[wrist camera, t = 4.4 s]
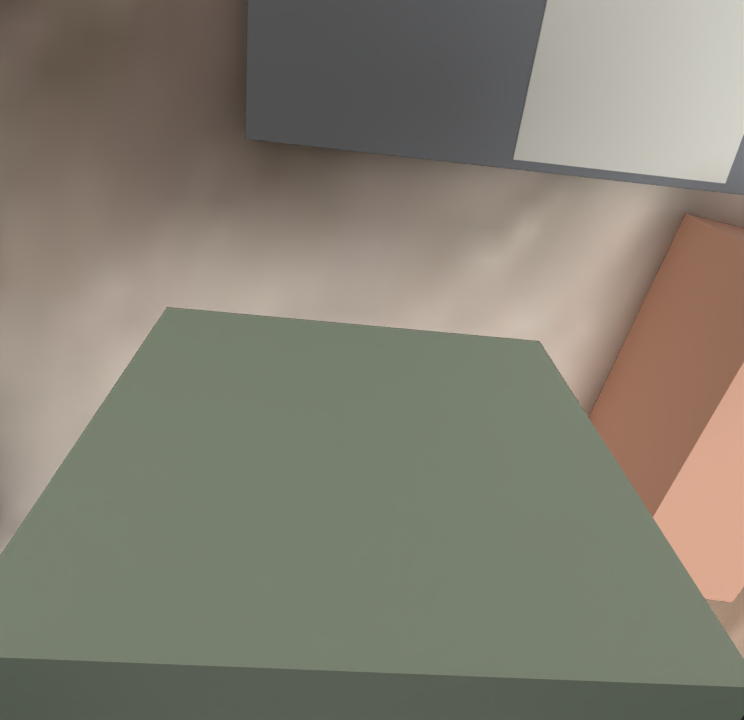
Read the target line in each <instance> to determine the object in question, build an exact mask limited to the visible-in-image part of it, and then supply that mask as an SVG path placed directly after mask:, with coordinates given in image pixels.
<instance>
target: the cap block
mask: <svg viewBox="0 0 744 720" xmlns="http://www.w3.org/2000/svg"><path fill="white" fill-rule="evenodd" d="M589 419H590V421H591V422H592V424H593V425H594V427H595V428H596V430H597V432H598V433H599V435H600V436H601V438H602V439H603V441H604V442H605V444H606V446H607V447H608V449H609V450H610V452H611V453H612V455H613V456H614V458H615V460H616V461H617V463H618V464H619V466H620V467H621V469H622V470H623V472H624V474H625V475H626V477H627V478H628V480H629V481H630V483H631V484H632V486H633V488H634V489H635V491H636V492H637V494H638V495H639V497H640V498H641V500H642V502H643V503H644V505H645V506H646V508H647V509H648V511H649V512H650V514H651V516H652V517H653V519H654V520H655V522H656V523H657V525H658V527H659V528H660V530H661V531H662V533H663V534H664V536H665V537H666V539H667V541H668V542H669V544H670V545H671V547H672V548H673V550H674V551H675V553H676V555H677V556H678V558H679V559H680V561H681V562H682V564H683V565H684V567H685V569H686V570H687V572H688V573H689V575H690V576H691V578H692V579H693V581H694V583H695V584H696V586H697V587H698V589H699V590H700V592H701V593H702V595H703V597H704V598H705V599H712V600H719V601H726V602H733V601H734V599H735V598H736V596H737V595H738V594H739V592H740V591H741V589H742V588H743V587H744V228H741V227H737V226H733V225H729V224H725V223H721V222H717V221H713V220H709V219H705V218H701V217H697V216H693V215H689V214H685V216H684V218H683V220H682V222H681V224H680V227H679V229H678V231H677V233H676V235H675V237H674V239H673V241H672V243H671V245H670V247H669V250H668V252H667V254H666V256H665V258H664V260H663V262H662V264H661V266H660V268H659V271H658V273H657V275H656V277H655V279H654V281H653V283H652V285H651V287H650V289H649V292H648V294H647V296H646V298H645V300H644V302H643V304H642V306H641V308H640V310H639V313H638V315H637V317H636V319H635V321H634V323H633V325H632V327H631V329H630V331H629V334H628V336H627V338H626V340H625V342H624V344H623V346H622V348H621V350H620V352H619V355H618V357H617V359H616V361H615V363H614V365H613V367H612V369H611V371H610V373H609V376H608V378H607V380H606V382H605V384H604V386H603V388H602V390H601V392H600V394H599V397H598V399H597V401H596V403H595V405H594V407H593V409H592V411H591V413H590V415H589Z"/></svg>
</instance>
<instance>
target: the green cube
mask: <svg viewBox="0 0 744 720" xmlns="http://www.w3.org/2000/svg"><path fill="white" fill-rule="evenodd" d="M743 716H744V659H743V657H742V656H741V654H740V653H739V651H738V650H737V648H736V646H735V645H734V643H733V642H732V640H731V639H730V637H729V635H728V634H727V632H726V631H725V629H724V628H723V626H722V625H721V623H720V621H719V620H718V618H717V617H716V615H715V614H714V612H713V611H712V609H711V607H710V606H709V604H708V603H707V601H706V600H705V598H704V597H703V595H702V593H701V592H700V590H699V589H698V587H697V586H696V584H695V583H694V581H693V579H692V578H691V576H690V575H689V573H688V572H687V570H686V569H685V567H684V565H683V564H682V562H681V561H680V559H679V558H678V556H677V555H676V553H675V551H674V550H673V548H672V547H671V545H670V544H669V542H668V541H667V539H666V537H665V536H664V534H663V533H662V531H661V530H660V528H659V527H658V525H657V523H656V522H655V520H654V519H653V517H652V516H651V514H650V512H649V511H648V509H647V508H646V506H645V505H644V503H643V502H642V500H641V498H640V497H639V495H638V494H637V492H636V491H635V489H634V488H633V486H632V484H631V483H630V481H629V480H628V478H627V477H626V475H625V474H624V472H623V470H622V469H621V467H620V466H619V464H618V463H617V461H616V460H615V458H614V456H613V455H612V453H611V452H610V450H609V449H608V447H607V446H606V444H605V442H604V441H603V439H602V438H601V436H600V435H599V433H598V432H597V430H596V428H595V427H594V425H593V424H592V422H591V421H590V419H589V418H588V416H587V414H586V413H585V411H584V410H583V408H582V407H581V405H580V404H579V402H578V400H577V399H576V397H575V396H574V394H573V393H572V391H571V389H570V388H569V386H568V385H567V383H566V382H565V380H564V379H563V377H562V375H561V374H560V372H559V371H558V369H557V368H556V366H555V365H554V363H553V361H552V360H551V358H550V357H549V355H548V354H547V352H546V351H545V349H544V347H543V346H542V344H541V343H540V341H532V340H521V339H510V338H500V337H489V336H478V335H467V334H456V333H445V332H434V331H423V330H412V329H401V328H390V327H379V326H368V325H357V324H347V323H336V322H325V321H314V320H303V319H292V318H281V317H270V316H259V315H248V314H237V313H226V312H215V311H204V310H194V309H183V308H172V307H167V308H166V309H165V311H164V312H163V314H162V315H161V317H160V318H159V320H158V321H157V323H156V324H155V326H154V327H153V329H152V330H151V332H150V333H149V335H148V336H147V338H146V339H145V341H144V342H143V344H142V345H141V347H140V348H139V350H138V351H137V352H136V354H135V355H134V357H133V358H132V360H131V361H130V363H129V364H128V366H127V367H126V369H125V370H124V372H123V373H122V375H121V376H120V378H119V379H118V381H117V382H116V384H115V385H114V387H113V388H112V390H111V391H110V393H109V394H108V396H107V397H106V399H105V400H104V402H103V403H102V405H101V406H100V408H99V409H98V411H97V412H96V414H95V415H94V417H93V418H92V420H91V421H90V423H89V424H88V426H87V427H86V429H85V430H84V432H83V433H82V435H81V436H80V438H79V439H78V441H77V442H76V444H75V445H74V446H73V448H72V449H71V451H70V452H69V454H68V455H67V457H66V458H65V460H64V461H63V463H62V464H61V466H60V467H59V469H58V470H57V472H56V473H55V475H54V476H53V478H52V479H51V481H50V482H49V484H48V485H47V487H46V488H45V490H44V491H43V493H42V494H41V496H40V497H39V499H38V500H37V502H36V503H35V505H34V506H33V508H32V509H31V511H30V512H29V514H28V515H27V517H26V518H25V520H24V521H23V523H22V524H21V526H20V527H19V529H18V530H17V532H16V533H15V535H14V536H13V538H12V539H11V540H10V542H9V543H8V545H7V546H6V548H5V549H4V551H3V552H2V554H1V555H0V720H741V719H742V717H743Z"/></svg>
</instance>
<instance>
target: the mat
mask: <svg viewBox="0 0 744 720" xmlns="http://www.w3.org/2000/svg"><path fill="white" fill-rule="evenodd" d="M245 139H250V140H259V141H268V142H276V143H285V144H294V145H303V146H312V147H321V148H330V149H339V150H348V151H357V152H366V153H374V154H383V155H392V156H401V157H410V158H419V159H428V160H437V161H446V162H455V163H464V164H472V165H481V166H490V167H499V168H508V169H517V170H526V171H535V172H544V173H553V174H562V175H570V176H579V177H588V178H597V179H606V180H615V181H624V182H633V183H642V184H651V185H660V186H668V187H677V188H686V189H695V190H704V191H713V192H722V193H731V194H740V195H744V0H248V13H247V70H246V128H245Z"/></svg>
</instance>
